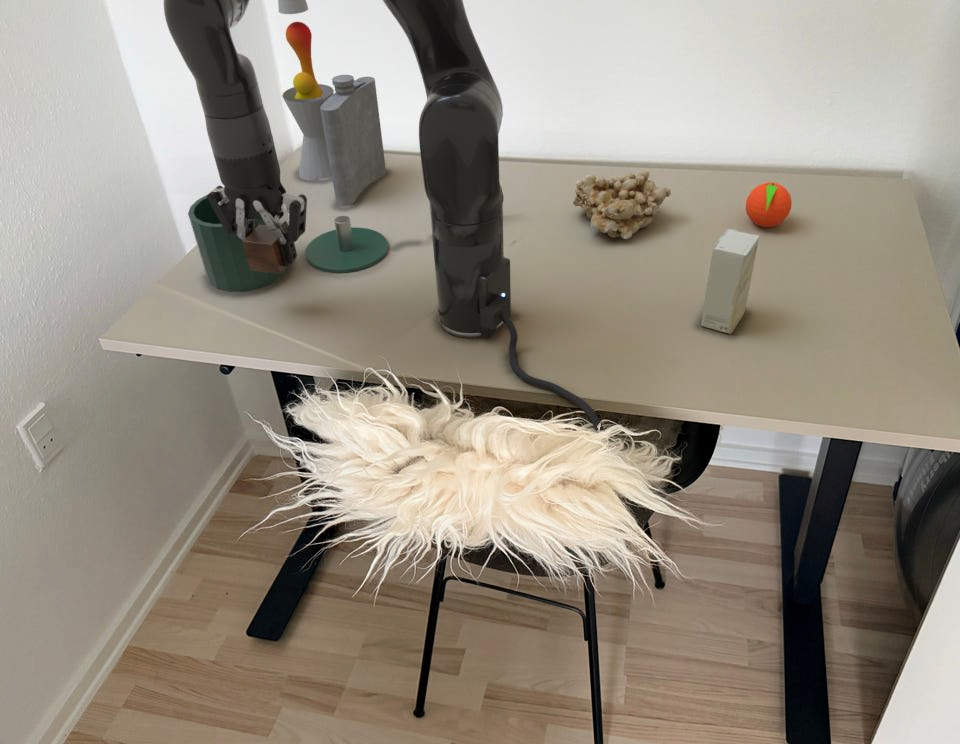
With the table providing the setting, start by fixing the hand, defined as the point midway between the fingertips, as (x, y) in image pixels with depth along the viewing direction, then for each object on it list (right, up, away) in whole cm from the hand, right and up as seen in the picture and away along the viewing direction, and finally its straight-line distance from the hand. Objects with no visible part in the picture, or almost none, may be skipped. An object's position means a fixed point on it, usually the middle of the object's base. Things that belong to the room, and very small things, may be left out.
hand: (272, 261), depth 110 cm
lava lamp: (-1, +23, +41) cm, 47 cm away
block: (0, 0, 0) cm, 0 cm away
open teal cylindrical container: (-7, 0, +14) cm, 16 cm away
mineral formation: (+52, +9, +21) cm, 57 cm away
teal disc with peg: (+7, +4, +17) cm, 19 cm away
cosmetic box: (+62, -8, 0) cm, 62 cm away
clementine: (+74, +8, +19) cm, 77 cm away
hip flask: (+7, +18, +35) cm, 40 cm away
